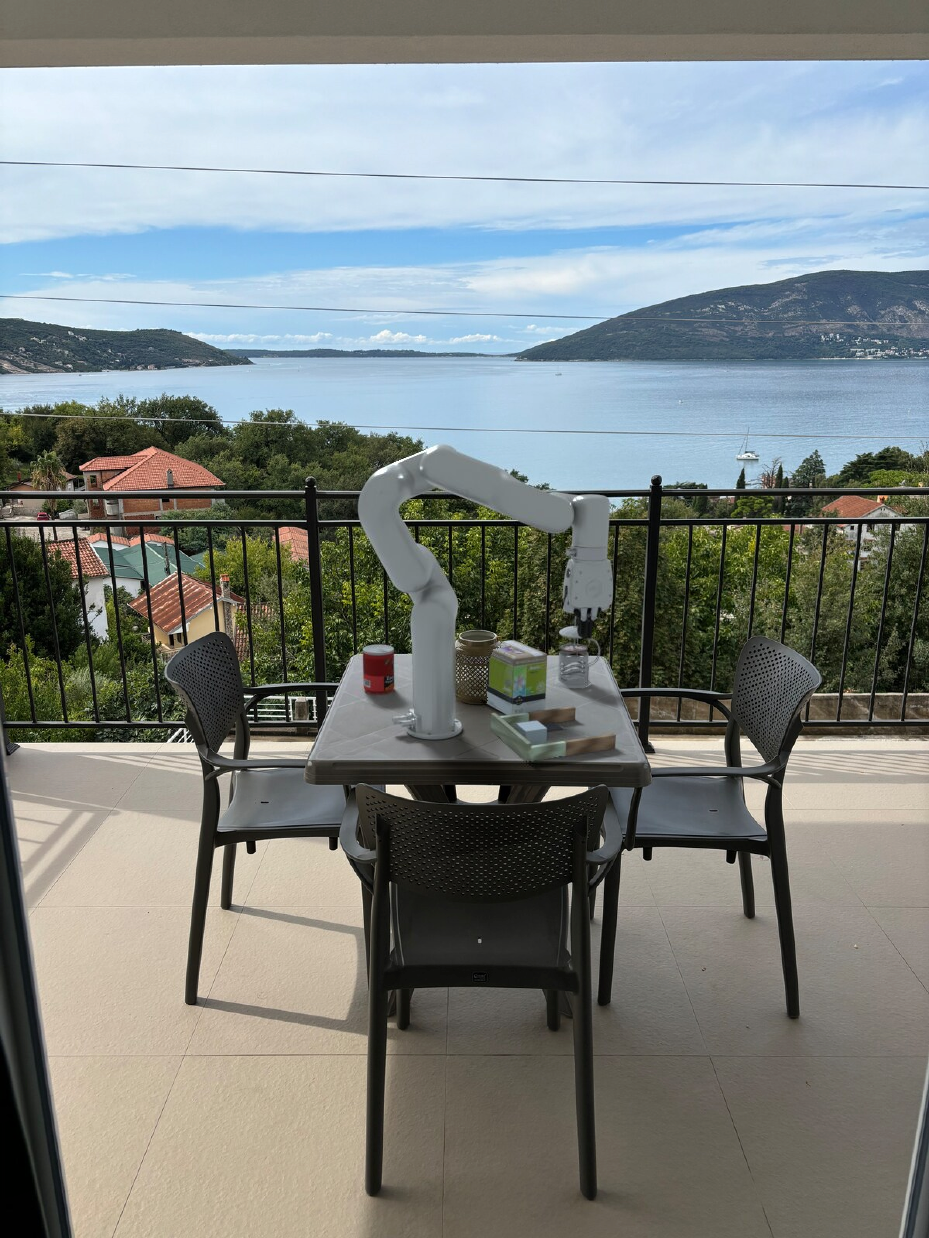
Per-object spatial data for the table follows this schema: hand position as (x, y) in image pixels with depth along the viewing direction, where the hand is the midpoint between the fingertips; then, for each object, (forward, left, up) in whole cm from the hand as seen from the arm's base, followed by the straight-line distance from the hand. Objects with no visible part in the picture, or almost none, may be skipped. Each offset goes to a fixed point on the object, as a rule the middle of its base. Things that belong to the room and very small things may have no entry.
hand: (584, 636), depth 189 cm
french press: (+16, +32, -23) cm, 43 cm away
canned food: (-34, +45, -23) cm, 61 cm away
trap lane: (-7, 0, -23) cm, 24 cm away
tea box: (-7, +22, -23) cm, 32 cm away
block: (-12, 0, -23) cm, 26 cm away
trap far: (-5, +6, -23) cm, 24 cm away
